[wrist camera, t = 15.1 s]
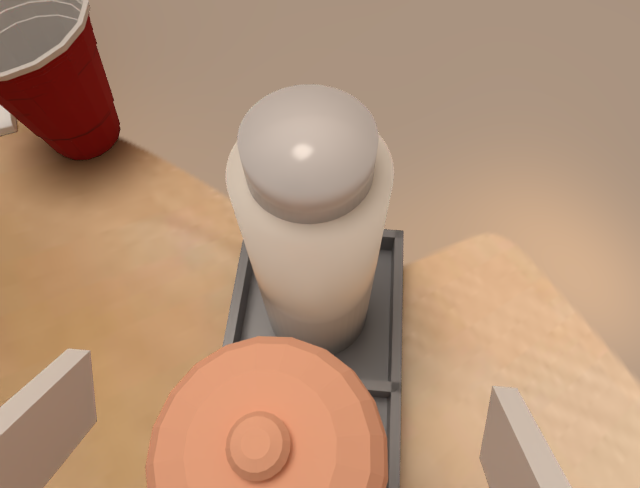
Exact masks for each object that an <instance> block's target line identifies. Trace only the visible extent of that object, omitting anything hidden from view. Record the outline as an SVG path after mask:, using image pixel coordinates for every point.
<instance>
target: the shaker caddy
mask: <svg viewBox="0 0 640 488" xmlns="http://www.w3.org/2000/svg"><path fill="white" fill-rule="evenodd" d="M402 296H403V231H400V230H387V229H384V231H383V236H382V241H381V246H380V251H379V256H378V261H377V266H376V271H375V276H374V281H373V285H372V290H371V295H370V300H369V305H368V310H367V315H366V320H365V324H364V326H363V329H362V331H361V333H360V334H359V336H358V337H357V339H356V340H355V341H354V342H353V343H352V344H351V345H350V346H349V347H347V348H346V349H344V350H343V351H341V352H339V353H336V354H334V356H335V357H337V358H338V359H339V360H341V361H342V362H343V363H344V364H346V365H347V366H348V367H350V368H351V369H352V370H354V372H355V373H356V374H357V376H358V377H359V379H360V380H361V381H362V383H363V384H364V386H365V387H366V389H367V390H368V391H369V393H370V394H371V396H372V397H373V399H374V400H375V402H376V405H377V408H378V411H379V414H380V417H381V420H382V423H383V426H384V430H385V433H386V436H387V449H388V482H387V486H386V488H400V435H401V366H402ZM257 336H269V337H277V336H276V335H275V333H274V331H273V329H272V327H271V324H270V321H269V318H268V315H267V311H266V308H265V305H264V302H263V299H262V296H261V293H260V290H259V287H258V284H257V280H256V277H255V274H254V271H253V268H252V265H251V262H250V259H249V256H248V253H247V249H246V246H245V243H244V240H243V243H242V248H241V253H240V258H239V264H238V269H237V274H236V279H235V284H234V290H233V295H232V300H231V305H230V311H229V316H228V321H227V326H226V331H225V337H224V342H223V347H224V346H225V345H228V344H232V343H236V342H239V341H243V340H246V339H250V338H254V337H257Z"/></svg>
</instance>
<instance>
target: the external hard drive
mask: <svg viewBox="0 0 640 488" xmlns="http://www.w3.org/2000/svg"><path fill="white" fill-rule="evenodd" d="M13 132H17V124H16V118H15V117H14V116H13V115H12V114H10V113H9V112H8V111H7V110H6V109H4V108H3V107H2V106H1V105H0V136H2V135H6V134H10V133H13Z"/></svg>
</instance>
